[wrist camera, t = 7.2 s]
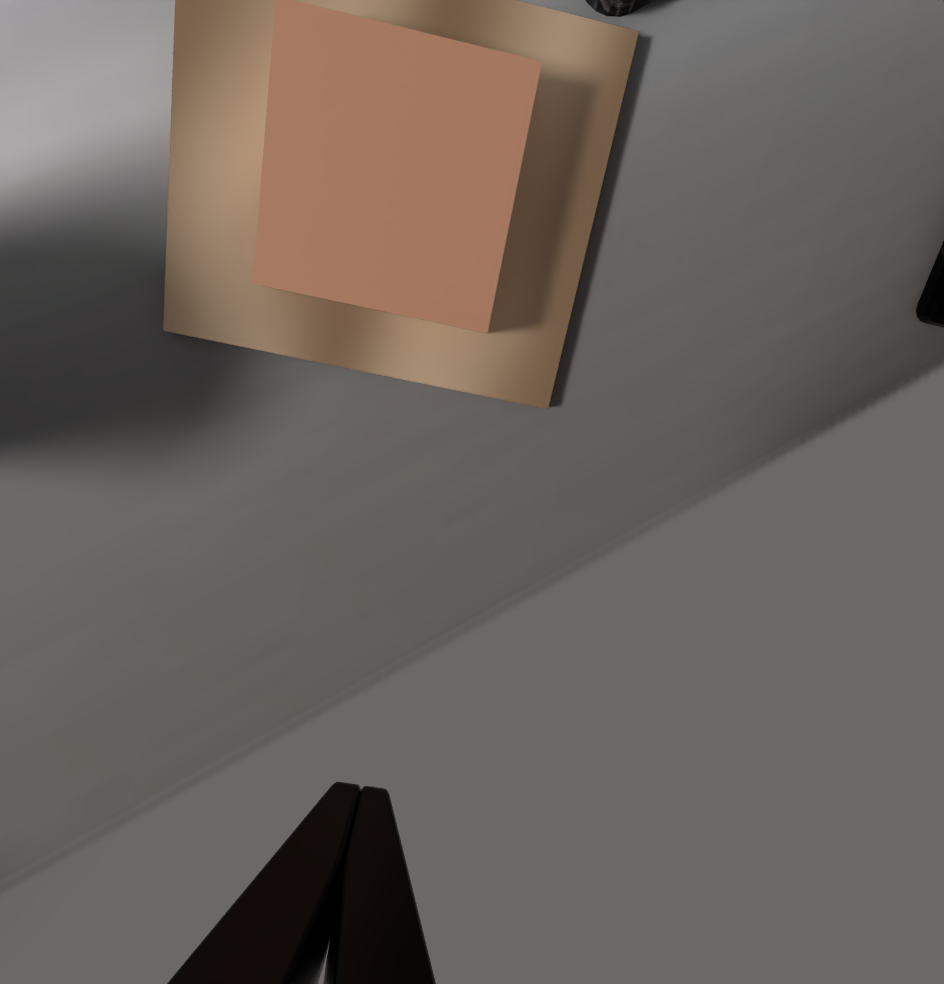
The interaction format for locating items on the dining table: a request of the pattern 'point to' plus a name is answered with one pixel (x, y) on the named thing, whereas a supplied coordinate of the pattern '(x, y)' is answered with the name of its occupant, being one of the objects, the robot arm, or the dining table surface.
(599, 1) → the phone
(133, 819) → the dining table surface
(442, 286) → the terracotta tile
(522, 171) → the cork mat
